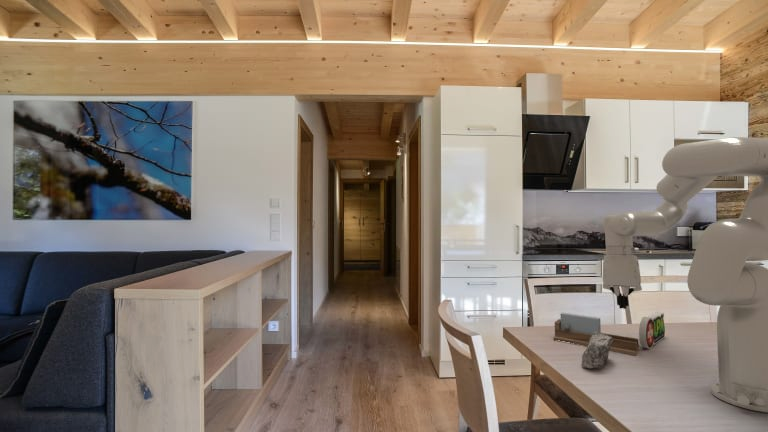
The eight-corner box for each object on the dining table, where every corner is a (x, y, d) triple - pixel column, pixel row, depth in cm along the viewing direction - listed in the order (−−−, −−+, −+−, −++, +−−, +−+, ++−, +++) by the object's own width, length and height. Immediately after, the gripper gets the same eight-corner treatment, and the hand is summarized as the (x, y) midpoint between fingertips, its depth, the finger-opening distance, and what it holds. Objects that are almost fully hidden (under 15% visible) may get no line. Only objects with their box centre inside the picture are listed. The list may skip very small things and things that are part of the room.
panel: (599, 343, 120) (598, 319, 120) (560, 336, 128) (560, 313, 128) (600, 341, 121) (600, 317, 122) (563, 334, 130) (562, 312, 130)
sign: (659, 336, 130) (658, 309, 130) (665, 338, 128) (664, 310, 129) (639, 350, 116) (638, 319, 116) (646, 352, 114) (645, 320, 115)
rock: (598, 375, 96) (601, 337, 97) (566, 365, 102) (569, 329, 103) (620, 371, 105) (622, 336, 106) (589, 361, 112) (592, 329, 113)
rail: (635, 355, 111) (635, 336, 111) (553, 340, 126) (553, 323, 127) (639, 348, 117) (638, 330, 118) (560, 334, 133) (560, 318, 133)
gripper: (648, 251, 116) (652, 308, 114) (595, 251, 125) (598, 304, 124) (646, 252, 110) (650, 312, 108) (591, 251, 120) (594, 307, 118)
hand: (623, 307), depth 116 cm, fingers closed
